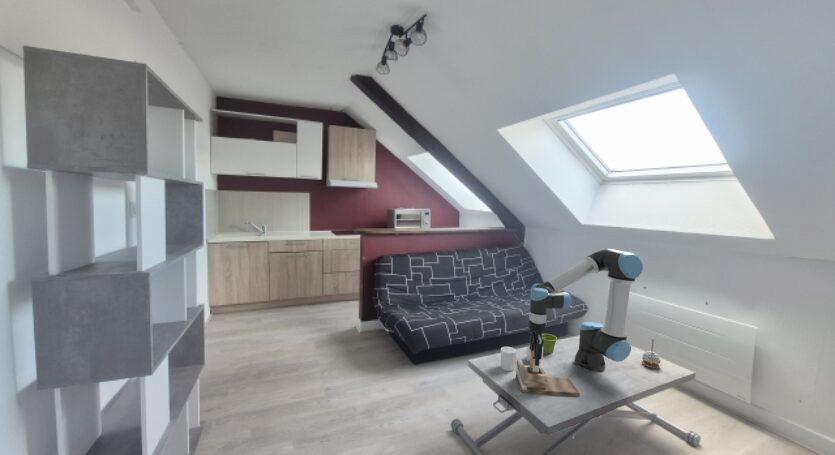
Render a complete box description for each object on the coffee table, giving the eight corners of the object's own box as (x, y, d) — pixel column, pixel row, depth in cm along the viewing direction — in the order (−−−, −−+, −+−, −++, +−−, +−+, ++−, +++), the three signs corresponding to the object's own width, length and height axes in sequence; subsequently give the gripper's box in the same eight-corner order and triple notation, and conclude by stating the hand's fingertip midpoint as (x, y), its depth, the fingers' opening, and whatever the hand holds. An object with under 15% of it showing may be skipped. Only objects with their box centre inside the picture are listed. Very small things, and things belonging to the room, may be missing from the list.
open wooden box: (540, 378, 167) (541, 366, 166) (546, 388, 158) (546, 375, 157) (521, 376, 167) (522, 365, 167) (526, 387, 158) (527, 374, 158)
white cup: (515, 372, 175) (517, 354, 174) (500, 370, 176) (501, 352, 175) (514, 365, 182) (515, 347, 181) (499, 363, 184) (500, 345, 183)
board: (568, 380, 168) (570, 362, 167) (579, 396, 155) (581, 376, 154) (515, 377, 170) (516, 359, 169) (521, 392, 157) (523, 373, 156)
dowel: (528, 376, 164) (530, 350, 163) (536, 376, 164) (538, 350, 163) (530, 380, 160) (532, 354, 159) (539, 380, 160) (541, 354, 159)
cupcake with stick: (662, 367, 185) (665, 340, 183) (653, 370, 181) (656, 343, 180) (647, 361, 192) (649, 335, 190) (639, 363, 188) (641, 337, 187)
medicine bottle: (542, 359, 190) (543, 338, 189) (539, 364, 184) (540, 343, 183) (529, 355, 194) (530, 335, 193) (526, 360, 188) (527, 339, 187)
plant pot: (554, 356, 194) (555, 341, 193) (537, 352, 199) (538, 337, 198) (557, 350, 202) (558, 336, 201) (541, 346, 207) (542, 332, 206)
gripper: (524, 314, 168) (522, 359, 171) (534, 327, 152) (531, 377, 154) (540, 315, 168) (537, 360, 170) (551, 328, 151) (548, 378, 153)
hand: (534, 368), depth 162 cm, fingers closed on dowel, 4 cm apart
